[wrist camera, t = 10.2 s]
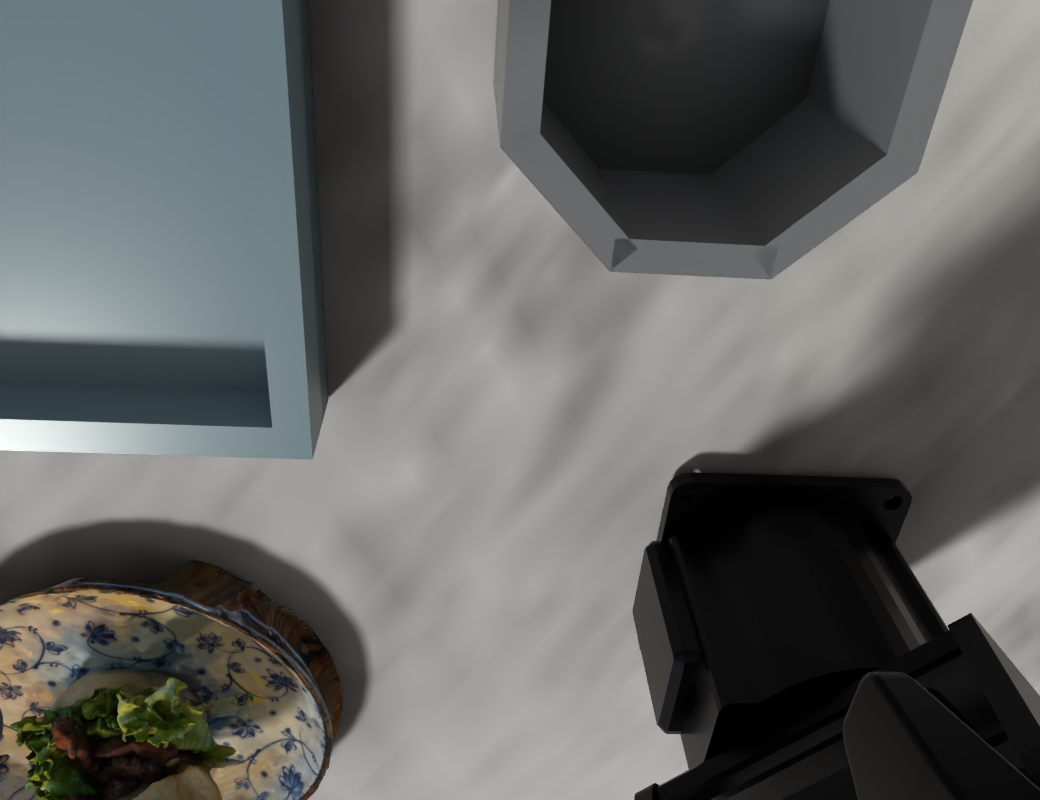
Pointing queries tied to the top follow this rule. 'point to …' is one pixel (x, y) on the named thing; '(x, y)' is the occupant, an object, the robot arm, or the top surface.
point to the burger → (162, 693)
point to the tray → (159, 229)
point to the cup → (718, 120)
